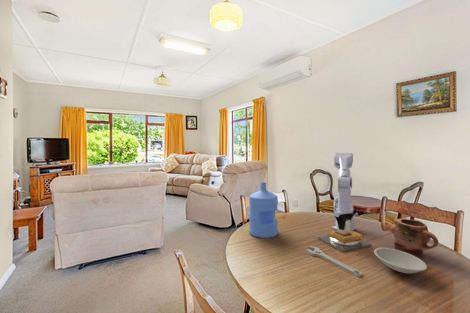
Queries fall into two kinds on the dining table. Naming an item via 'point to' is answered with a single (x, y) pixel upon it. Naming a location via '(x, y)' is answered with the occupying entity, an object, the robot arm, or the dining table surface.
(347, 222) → the rectangular block
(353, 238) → the bracket rosette
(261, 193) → the water jug
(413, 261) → the dish
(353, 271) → the adjustable wrench
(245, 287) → the dining table surface
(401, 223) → the brown ceramic rounded pot
